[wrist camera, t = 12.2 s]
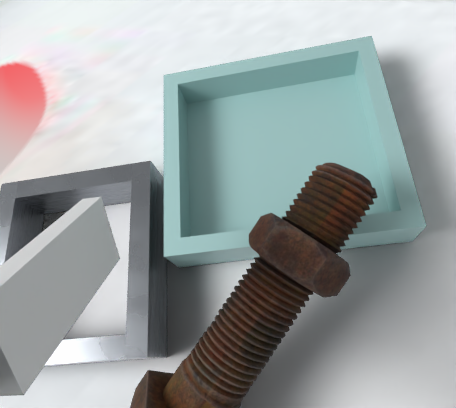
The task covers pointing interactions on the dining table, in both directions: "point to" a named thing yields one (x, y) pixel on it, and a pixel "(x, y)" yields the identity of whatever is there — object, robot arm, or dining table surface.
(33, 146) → the dining table surface
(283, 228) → the bolt
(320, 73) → the tray
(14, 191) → the square frame
